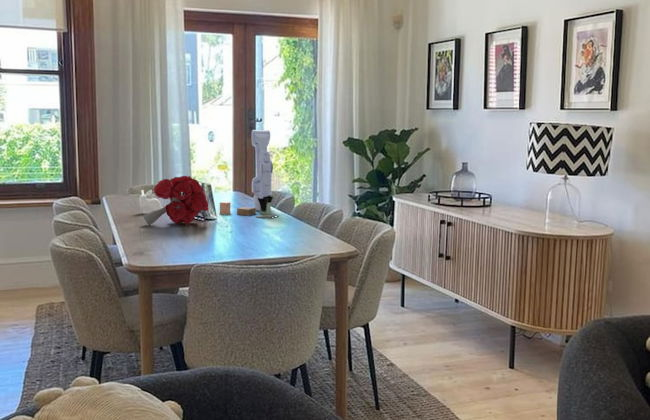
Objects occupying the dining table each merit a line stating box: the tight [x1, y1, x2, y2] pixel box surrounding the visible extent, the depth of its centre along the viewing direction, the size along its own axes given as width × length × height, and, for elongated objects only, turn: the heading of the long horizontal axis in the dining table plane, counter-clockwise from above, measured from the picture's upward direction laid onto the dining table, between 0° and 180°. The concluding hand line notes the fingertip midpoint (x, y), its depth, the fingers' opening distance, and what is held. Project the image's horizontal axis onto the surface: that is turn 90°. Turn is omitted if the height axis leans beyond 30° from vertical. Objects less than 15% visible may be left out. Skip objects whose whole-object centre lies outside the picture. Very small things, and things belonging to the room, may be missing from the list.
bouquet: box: [142, 175, 209, 226], centre depth 298 cm, size 22×24×30 cm
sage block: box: [259, 202, 272, 215], centre depth 341 cm, size 4×4×6 cm
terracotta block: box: [219, 201, 231, 215], centre depth 339 cm, size 4×4×6 cm
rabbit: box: [138, 189, 164, 215], centre depth 333 cm, size 12×9×12 cm
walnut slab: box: [236, 206, 257, 216], centre depth 339 cm, size 7×7×4 cm
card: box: [255, 213, 280, 219], centre depth 332 cm, size 10×8×1 cm
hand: (265, 210), depth 341 cm, fingers closed on sage block, 4 cm apart
